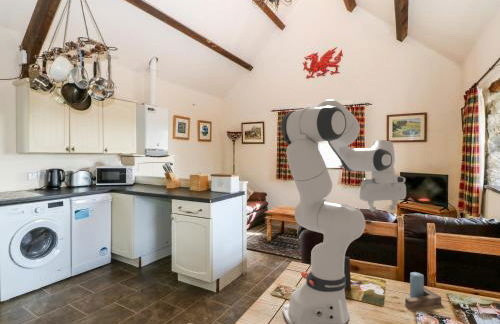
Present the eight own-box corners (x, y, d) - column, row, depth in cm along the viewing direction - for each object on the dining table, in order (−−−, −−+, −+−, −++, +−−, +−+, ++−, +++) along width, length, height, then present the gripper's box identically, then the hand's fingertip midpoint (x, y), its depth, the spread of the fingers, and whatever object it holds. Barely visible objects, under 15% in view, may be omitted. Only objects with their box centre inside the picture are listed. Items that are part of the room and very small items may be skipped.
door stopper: (351, 290, 110) (351, 261, 109) (335, 288, 111) (335, 260, 111) (347, 280, 119) (347, 253, 118) (333, 278, 120) (333, 252, 120)
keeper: (416, 301, 101) (416, 277, 101) (407, 295, 105) (407, 272, 105) (426, 300, 102) (426, 276, 101) (417, 294, 106) (417, 271, 106)
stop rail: (409, 308, 96) (409, 301, 96) (392, 296, 105) (392, 289, 105) (441, 303, 99) (441, 297, 99) (422, 292, 107) (422, 286, 107)
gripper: (365, 179, 110) (365, 213, 110) (408, 178, 114) (408, 210, 114) (356, 178, 116) (356, 210, 116) (397, 177, 120) (397, 207, 120)
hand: (382, 210), depth 115 cm, fingers open, 8 cm apart
